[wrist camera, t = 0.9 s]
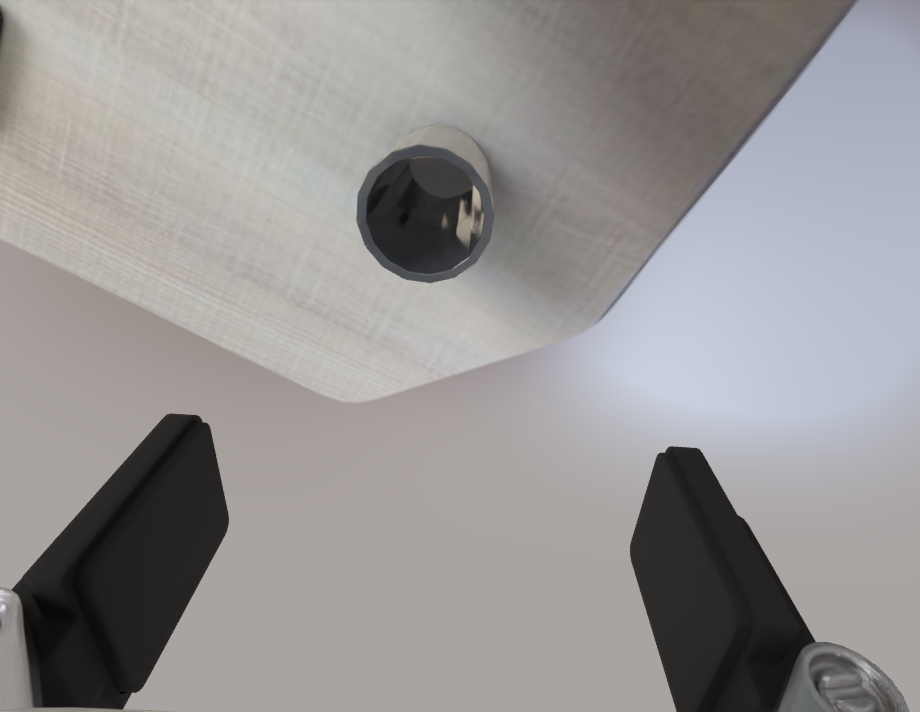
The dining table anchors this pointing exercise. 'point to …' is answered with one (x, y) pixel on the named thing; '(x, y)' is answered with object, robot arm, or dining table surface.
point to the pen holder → (428, 205)
